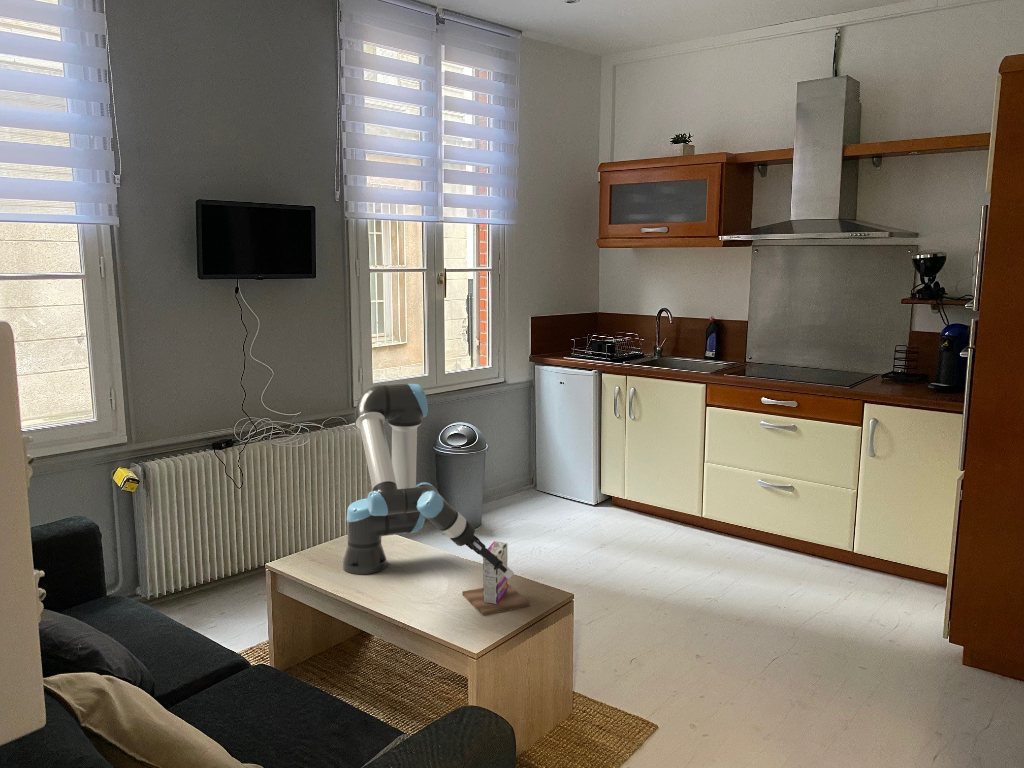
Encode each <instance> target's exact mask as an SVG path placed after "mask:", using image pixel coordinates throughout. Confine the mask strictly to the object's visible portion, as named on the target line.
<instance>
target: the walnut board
mask: <svg viewBox="0 0 1024 768" xmlns="http://www.w3.org/2000/svg"><path fill="white" fill-rule="evenodd" d="M462 596H463V598H465V599H466V601H467V602H468V603H470V605H472V606H473V607H474V608H475V609H476V611H478V612H479V614H481V615H482V616H487V615H492V614H496V613H502V612H506V611H511V609H512V610H516V608H517V609H520V608H519V607H522V608H526V607H525V606H527V607H530V602H529V601H528V600H527V599H526V598H525V597H524V596H522V595H521V593H519V592H518V590H515V589H514V588H513V587H512V586H511V585H510V584H509V583H507V592H506V593H505V594H504V596H503V597H502V598H501V600H500V601H499V603H498V604H489V603H484V602H483V587H478V588H475V589H469V590H463V591H462Z"/></svg>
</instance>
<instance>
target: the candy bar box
mask: <svg viewBox="0 0 1024 768" xmlns="http://www.w3.org/2000/svg"><path fill="white" fill-rule="evenodd" d="M508 544H509V543H508V542H502V541H493V542H492V543H491V544H490V545H489V547H487V549H488V550H489V551H490V552H491V553H492V554H493V555H495V556H496V557H497V558H498V559H499V560H501V561H502V562H503V563H504V564H505V565H506V566H507V567H508ZM482 558H483V560H482V562H483V563H482V566H483V568H482V572H483V573H482V575H483V576H482V577H483V578H482V579H483V581H482V583H483V584H482V585H483V587H482V588H483V602H484V603H489V604H498V603H499V601H500V600H501V598H502V597H503V596H504V594H505V593H506V592H507V584H508V579H507V578H506V577H505V576H504V575H503V574H502V573H500V572H499V571H498V570H497V569H496V570H494V566H493V565H492V564H491V563H490V562H489V561H488V560H487V559H485V558H484V557H482Z"/></svg>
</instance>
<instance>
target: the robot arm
mask: <svg viewBox="0 0 1024 768" xmlns="http://www.w3.org/2000/svg"><path fill="white" fill-rule="evenodd" d="M428 407H429V406H428V400H427V396H426V393H425V391H424V388H423V387H422V386H421V385H420V384H418V383H402V384H401V383H400V384H399V383H398V384H377V385H374V386H371V387H370V388H368V389H367V390H366V391H364V393H363V394H362V395H361V396H360V397H359V399H358V401H357V403H356V406H355V409H354V421H355V426H356V428H358V429H359V430H360V435H361V439H362V443H363V449H364V454H365V459H366V464H367V469H368V475H369V478H370V483H371V488H372V489H371V490H372V491H369V492H368V494H367V498H362V499H358V500H355V501H353V502H352V503H350V504H349V506H348V507H347V511H346V524H347V526H346V529H347V530H346V531H347V532H346V533H347V546H346V550H345V552H344V553H345V554H344V557H343V560H342V570H344V571H345V572H347V573H350V574H354V575H369V574H374V573H378V572H381V571H383V570H384V569H386V567H387V566H388V563H387V562H388V561H387V557H386V553H385V550H384V547H383V545H382V537H387V536H394V535H395V536H396V535H404V534H407V535H409V534H412V533H417V532H419V531H421V530H422V528H423V526H424V524H425V520H426V519H427V520H428V521H429V522H431V523H432V524H433V526H435V527H437V528H438V530H439V531H441V535H442V536H447V537H448V539H449V540H450V541H452V543H454V544H455V545H456V546H457V547H462V546H466V547H468V548H469V549H470V550H473V552H475V553H476V554H477V555H479V556H480V557H482V558H483V557H484V558H485V559H487V560H488V561H489V562H490V563H491V564H492V565H493V566H494V570H496V569H497V570H498V571H499V572H500V573H502V574H503V575H504V576H505V577H506V578H507V581H508V580H510V579H511V578H512V577H513V576H514V574H515V572H514V571H513V570H512V568H510V567H509V566H508V565H507V566H506V565H505V564H504V563H503V562H502V561H501V560H499V559H498V558H497V557H496V556H495V555H493V554H492V553H491V552H490V551H489V550H488V547H486V545H485V543H483V542H482V541H481V540H480V538H479V537H477V536H476V535H475V533H476V530H475V526H473V524H472V523H471V522H469V521H468V520H467V519H466V518H465V517H464V516H463V515H462V514H461V513H460V512H458V511H457V510H456V509H455V508H454V507H453V506H451V504H450V503H448V501H446V500H445V498H444V497H443V496H442V495H441V494H440V493H439V491H438V489H437V488H436V487H435V486H434V485H433V484H431V483H429V482H425V481H423V482H422V481H421V482H419V483H417V454H418V453H417V451H418V450H417V447H418V445H417V443H418V427H419V426H421V425H422V421H423V420H422V419H423V418H425V417H427V415H428V412H429V408H428ZM386 420H387V424H388V425H389V426H390V427H391V453H390V449H389V445H388V440H387V439H388V438H387V436H386V432H385V426H384V424H385V423H386Z"/></svg>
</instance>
